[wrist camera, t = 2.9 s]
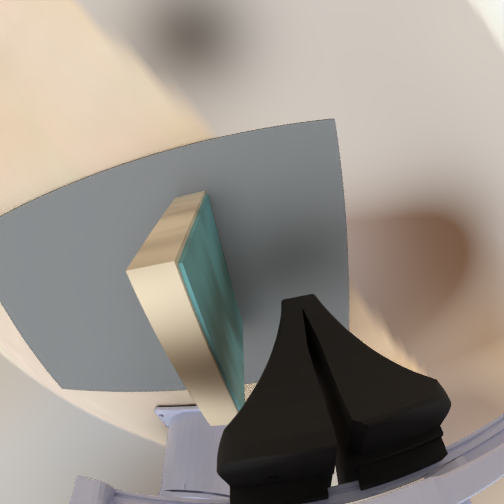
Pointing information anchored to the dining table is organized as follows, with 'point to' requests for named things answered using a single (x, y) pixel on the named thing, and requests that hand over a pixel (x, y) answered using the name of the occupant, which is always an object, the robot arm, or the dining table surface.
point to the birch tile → (193, 305)
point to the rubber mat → (138, 229)
